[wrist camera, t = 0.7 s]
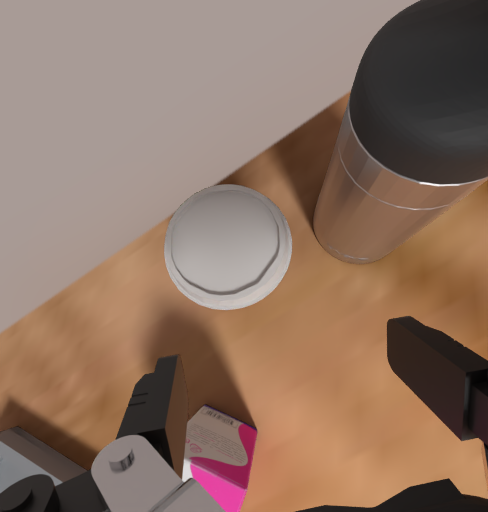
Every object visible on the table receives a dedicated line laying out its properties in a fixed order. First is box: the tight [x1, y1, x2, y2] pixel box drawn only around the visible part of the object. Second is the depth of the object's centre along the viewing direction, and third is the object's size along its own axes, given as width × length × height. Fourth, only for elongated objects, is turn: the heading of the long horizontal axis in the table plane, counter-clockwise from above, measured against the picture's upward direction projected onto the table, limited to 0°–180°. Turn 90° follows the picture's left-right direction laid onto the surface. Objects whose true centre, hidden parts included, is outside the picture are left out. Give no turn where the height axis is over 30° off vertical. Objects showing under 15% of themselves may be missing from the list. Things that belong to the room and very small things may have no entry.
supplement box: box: [182, 404, 257, 512], centre depth 24 cm, size 6×6×11 cm
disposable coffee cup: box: [164, 184, 292, 310], centre depth 27 cm, size 10×10×12 cm
